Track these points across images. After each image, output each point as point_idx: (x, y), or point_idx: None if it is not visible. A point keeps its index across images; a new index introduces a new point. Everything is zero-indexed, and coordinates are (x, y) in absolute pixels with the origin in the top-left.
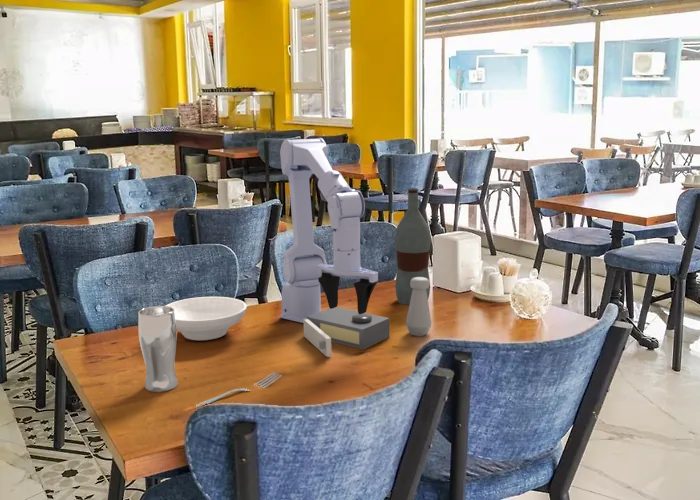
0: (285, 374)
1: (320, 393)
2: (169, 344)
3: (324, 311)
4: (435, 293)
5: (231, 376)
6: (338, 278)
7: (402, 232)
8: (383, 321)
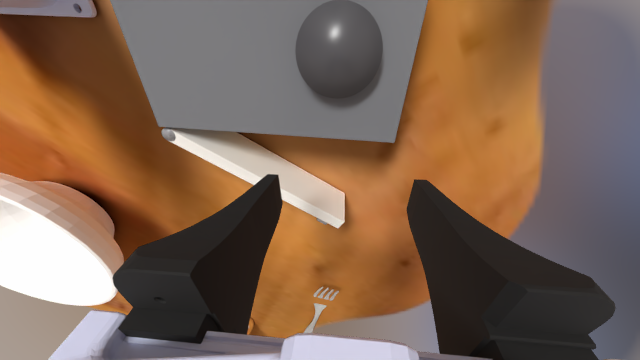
0: (326, 267)
1: (410, 289)
2: None
3: (133, 31)
4: None
5: (271, 289)
6: (218, 263)
7: None
8: None
